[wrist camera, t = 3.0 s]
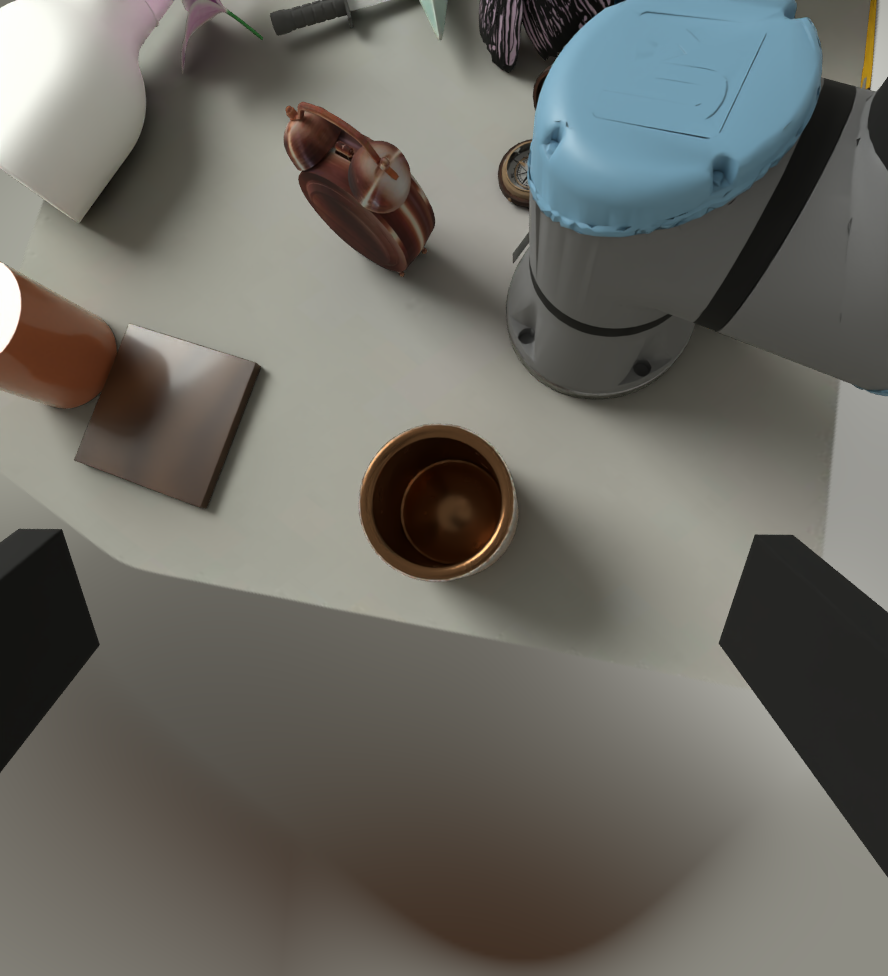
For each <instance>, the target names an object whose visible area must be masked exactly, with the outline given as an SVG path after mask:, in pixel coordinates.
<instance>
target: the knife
mask: <svg viewBox="0 0 888 976" xmlns="http://www.w3.org/2000/svg"><path fill="white" fill-rule="evenodd" d="M385 1H389V0H322V1H320V0H318V1H315V2H312V4H310V3H308V4H304V5H302V6H301V7H300V6H297V7H294V8H292V9H287V10H284V9H283V10H279V11H276V12H273V13H270V17H271V21H272V25H273V27H274V30H275V32H276V34H277V35H282V34H286V33H289V32H291V31H292V30H295V29H296V28H298V29H299V28H303V27H306V25H308V26H310V25H313V24H316V23H320V22H324V21H326V20H331V19H334V18H336V17H341V16H345V15H347V16H348V20H349V24H350V28H353V23H352V18H351V14H350V11H353V10H357V9H360V8H365V7H368V6H371V5H375V4H378V3H382V2H385Z"/></svg>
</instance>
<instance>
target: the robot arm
mask: <svg viewBox="0 0 888 976" xmlns="http://www.w3.org/2000/svg"><path fill="white" fill-rule="evenodd" d="M796 9H797V2H796V1H795V0H625V1H623V2H620V3H618V4H615V5H612V6H610V7H607V8H605V9H604V10H602V11H601V12H600V13H598V14H597V15H596V16H595V17H593V18H592V19H591V20H590V21H588V22H587V23H586V24H585V25H584V26H583V27H582V28H581V29H580V30H579V31H578V32H577V33H576V34H575V35H574V36H573V38H572V39H571V40H570V41H569V42H568V44H567V45H566V46H565V47H564V49H563V50H562V51H561V53H560V54H559V56H558V57H557V59H556V60H555V62H554V63H553V65H552V67H551V69H550V71H549V73H548V75H547V77H546V79H545V82H544V84H543V86H542V89H541V92H540V95H539V99H538V103H537V107H536V113H535V121H534V132H533V139H532V142H531V146H530V153H529V157H528V162H527V165H528V171H527V179H528V185H529V188H530V197H529V233H528V234H527V236H526V237H525V238H524V240H523V241H522V242H521V244H520V245H519V246H518V248H517V249H516V250H515V252H514V253H513V263H514V262H515V260H516V259H517V258H518V256H519V255H520V254H521V252H522V251H523V250H524V248H525V247H526V246H527V244H528V243H529V248H528V249H527V251H526V252H525V254H524V255H523V257H522V259H521V260H520V262H519V264H518V265H517V267H516V269H515V272H514V274H513V277H512V280H511V283H510V287H509V290H508V295H507V303H506V317H507V328H508V333H509V337H510V340H511V343H512V346H513V348H514V350H515V353H516V354H517V356H518V358H519V359H520V361H521V362H522V364H523V365H524V366H525V368H526V369H527V370H528V371H529V372H530V373H531V374H532V375H533V376H534V377H536V378H537V379H538V380H539V381H541V382H542V383H543V384H545V385H547V386H548V387H550V388H552V389H554V390H556V391H558V392H561V393H563V394H566V395H569V396H574V397H578V398H585V399H608V398H615V397H619V396H624V395H627V394H630V393H633V392H635V391H637V390H640V389H642V388H644V387H645V386H647V385H649V384H651V383H652V382H653V381H655V380H656V379H658V378H659V377H660V376H661V375H662V374H664V373H665V372H666V371H667V370H668V369H669V368H670V367H671V365H672V364H673V363H674V362H675V360H676V359H677V358H678V357H679V355H680V354H681V353H682V351H683V350H684V348H685V347H686V345H687V343H688V341H689V339H690V337H691V335H692V332H693V329H694V326H695V324H698V325H701V326H704V327H706V328H709V329H712V330H714V331H717V332H719V333H722V334H724V335H727V336H729V337H732V338H734V339H737V340H740V341H742V342H745V343H747V344H750V345H753V346H755V347H758V348H760V349H763V350H765V351H768V352H771V353H773V354H776V355H778V356H781V357H783V358H786V359H789V360H791V361H794V362H796V363H799V364H802V365H804V366H807V367H809V368H812V369H814V370H817V371H820V372H822V373H825V374H827V375H830V376H832V377H835V378H838V379H840V380H843V381H845V382H848V383H851V384H852V385H854V386H855V387H857V388H859V389H861V390H863V389H864V390H867V391H868V392H870V393H874V394H877V395H882V396H888V77H887V79H886V80H885V82H884V83H883V84H882V86H881V87H880V88H879V89H878V90H877V91H876V92H875V91H871V90H867V89H863V88H860V87H856V86H851V85H847V84H844V83H840V82H836V81H833V80H829V79H825V78H822V77H821V74H822V50H821V42H820V40H819V38H818V34H817V30H816V28H815V26H814V24H813V23H812V21H811V20H810V18H808V17H805V18H798V19H795V13H796ZM719 645H720V646H721V647H722V649H723V650H724V651H725V653H726V654H727V656H728V657H729V658H730V660H731V661H732V662H733V664H734V665H735V667H736V668H737V669H738V671H739V672H740V674H741V675H742V676H743V678H744V679H745V680H746V682H747V683H748V685H749V686H750V687H751V689H752V690H753V692H754V693H755V694H756V696H757V697H758V698H759V700H760V701H761V703H762V704H763V705H764V707H765V708H766V709H767V711H768V712H769V714H770V715H771V716H772V718H773V719H774V721H775V722H776V723H777V725H778V726H779V728H780V729H781V730H782V732H783V733H784V734H785V736H786V737H787V739H788V740H789V741H790V743H791V744H792V745H793V747H794V748H795V750H796V751H797V752H798V754H799V755H800V756H801V758H802V759H803V761H804V762H805V764H806V765H807V766H808V767H809V769H810V770H811V772H812V773H813V775H814V776H815V777H816V779H817V780H818V782H819V783H820V784H821V786H822V787H823V788H824V790H825V791H826V793H827V794H828V795H829V797H830V798H831V799H832V801H833V802H834V804H835V805H836V806H837V808H838V809H839V811H840V812H841V813H842V815H843V816H844V817H845V819H846V820H847V822H848V823H849V824H850V826H851V827H852V829H853V830H854V831H855V833H856V834H857V835H858V837H859V838H860V840H861V841H862V842H863V844H864V845H865V847H866V848H867V849H868V851H869V852H870V853H871V855H872V856H873V858H874V859H875V860H876V862H877V863H878V865H879V866H880V867H881V869H882V870H883V871H884V873H885V874H886V876H887V877H888V612H887V611H885V610H884V609H883V608H882V607H881V606H879V605H878V604H877V603H876V602H874V601H873V600H872V599H871V598H869V597H868V596H867V595H866V594H865V593H863V592H862V591H861V590H860V589H858V588H857V587H856V586H855V585H853V584H852V583H851V582H850V581H848V580H847V579H846V578H845V577H844V576H843V575H841V574H840V573H839V572H838V571H836V570H835V569H834V568H833V567H831V566H830V565H829V564H828V563H827V562H825V561H824V560H823V559H822V558H820V557H819V556H818V555H817V554H816V553H814V552H813V551H812V550H811V549H809V548H808V547H807V546H806V545H805V544H803V543H802V542H801V541H800V540H798V539H797V538H796V537H795V536H793V535H755V536H754V539H753V542H752V545H751V548H750V551H749V554H748V557H747V560H746V563H745V566H744V569H743V572H742V575H741V578H740V581H739V584H738V587H737V590H736V593H735V596H734V599H733V602H732V605H731V608H730V611H729V614H728V617H727V620H726V623H725V626H724V629H723V632H722V635H721V638H720V641H719ZM98 646H99V641H98V638H97V635H96V632H95V630H94V626H93V623H92V620H91V617H90V614H89V611H88V608H87V605H86V601H85V598H84V596H83V592H82V589H81V586H80V583H79V580H78V577H77V574H76V571H75V568H74V565H73V562H72V559H71V556H70V553H69V549H68V546H67V543H66V540H65V537H64V534H63V531H62V529H18V530H17V531H15V532H14V533H12V534H11V535H10V536H9V537H7V538H6V539H4V540H3V541H2V542H0V772H1V771H2V770H3V768H4V767H5V766H6V765H7V763H8V762H9V761H10V759H11V758H12V757H13V756H14V754H15V753H16V752H17V750H18V749H19V748H20V747H21V745H22V744H23V743H24V741H25V740H26V739H27V738H28V736H29V735H30V734H31V732H32V731H33V730H34V729H35V727H36V726H37V725H38V723H39V722H40V721H41V720H42V718H43V717H44V716H45V715H46V713H47V712H48V711H49V709H50V708H51V707H52V705H53V704H54V703H55V702H56V700H57V699H58V698H59V696H60V695H61V694H62V693H63V691H64V690H65V689H66V688H67V686H68V685H69V684H70V682H71V681H72V680H73V679H74V677H75V676H76V675H77V673H78V672H79V671H80V670H81V668H82V667H83V665H84V664H85V663H86V662H87V661H88V659H89V658H90V657H91V655H92V654H93V653H94V651H95V650H96V649H97V648H98Z"/></svg>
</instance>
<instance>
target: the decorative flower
mask: <svg viewBox="0 0 888 976" xmlns="http://www.w3.org/2000/svg"><path fill="white" fill-rule="evenodd" d="M612 5H614V0H480V7H479V29H480V35H481V37H482V39H483V42H484V43H486V44H487V49H488V51H489V52H490V53H491V56H492V62H493V63H495V64H496V65H497V66H498V67H500V68H501V69H502V70H505V71H506V72H508V73H509V72H511V71H512V70H513V69H514V67H515V65H516V61H517V56H518V50H519V46H520V32H521V24H522V22H523V25H524V28H525V30H526V33H527V35H528V37H529V38H530V40H531V42H532V44H533V46H534V47H535V49H536V51H537V52H538V53H539V54H540V56H541V57H542V58H543V59H544V60H545V61H546V59H548V57H549V56H553V57H558V55H557V52H561V51H562V50H563V47H564V46H565V45H566V44H568V42H569V41H570V40H571V38H573V36H574V35H575V34H576V33H577V32H578V31H579V30H580V29H581V28H582V27H583V26H584V25H585V24H586V23H587V22H588V21H590V20H591V19H592V18H593V17H595V16H596V15H597V14H598V13H600V12H601V11H602V10H604V9H605V8H607V7H610V6H612Z"/></svg>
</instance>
